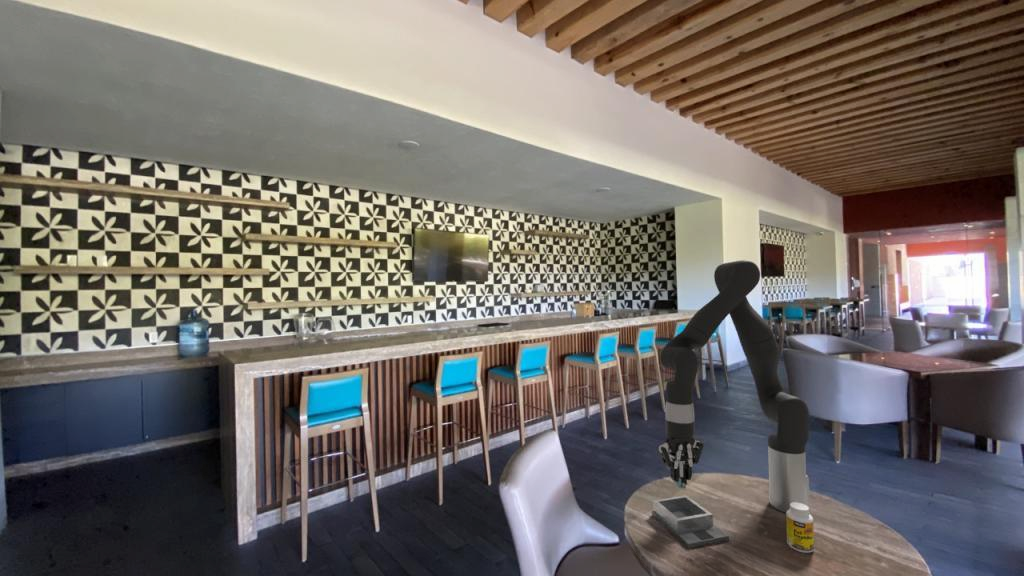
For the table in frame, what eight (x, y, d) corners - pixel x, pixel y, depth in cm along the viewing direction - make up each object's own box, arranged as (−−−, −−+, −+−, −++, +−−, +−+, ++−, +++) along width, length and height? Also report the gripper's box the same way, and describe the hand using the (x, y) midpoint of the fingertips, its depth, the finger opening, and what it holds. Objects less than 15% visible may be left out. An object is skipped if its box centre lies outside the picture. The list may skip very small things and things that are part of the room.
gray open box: (687, 509, 121) (687, 494, 121) (728, 540, 105) (728, 524, 105) (651, 515, 118) (651, 500, 118) (688, 548, 102) (688, 531, 103)
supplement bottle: (791, 552, 100) (790, 510, 101) (783, 538, 106) (782, 499, 106) (818, 556, 99) (816, 513, 99) (809, 542, 104) (808, 502, 104)
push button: (694, 491, 111) (693, 454, 111) (674, 491, 111) (673, 454, 111) (686, 480, 117) (685, 445, 117) (667, 480, 118) (666, 445, 118)
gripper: (692, 411, 120) (693, 471, 120) (649, 416, 116) (651, 477, 116) (710, 419, 113) (712, 482, 112) (665, 424, 109) (667, 489, 109)
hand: (681, 479), depth 114 cm, fingers closed on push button, 3 cm apart
